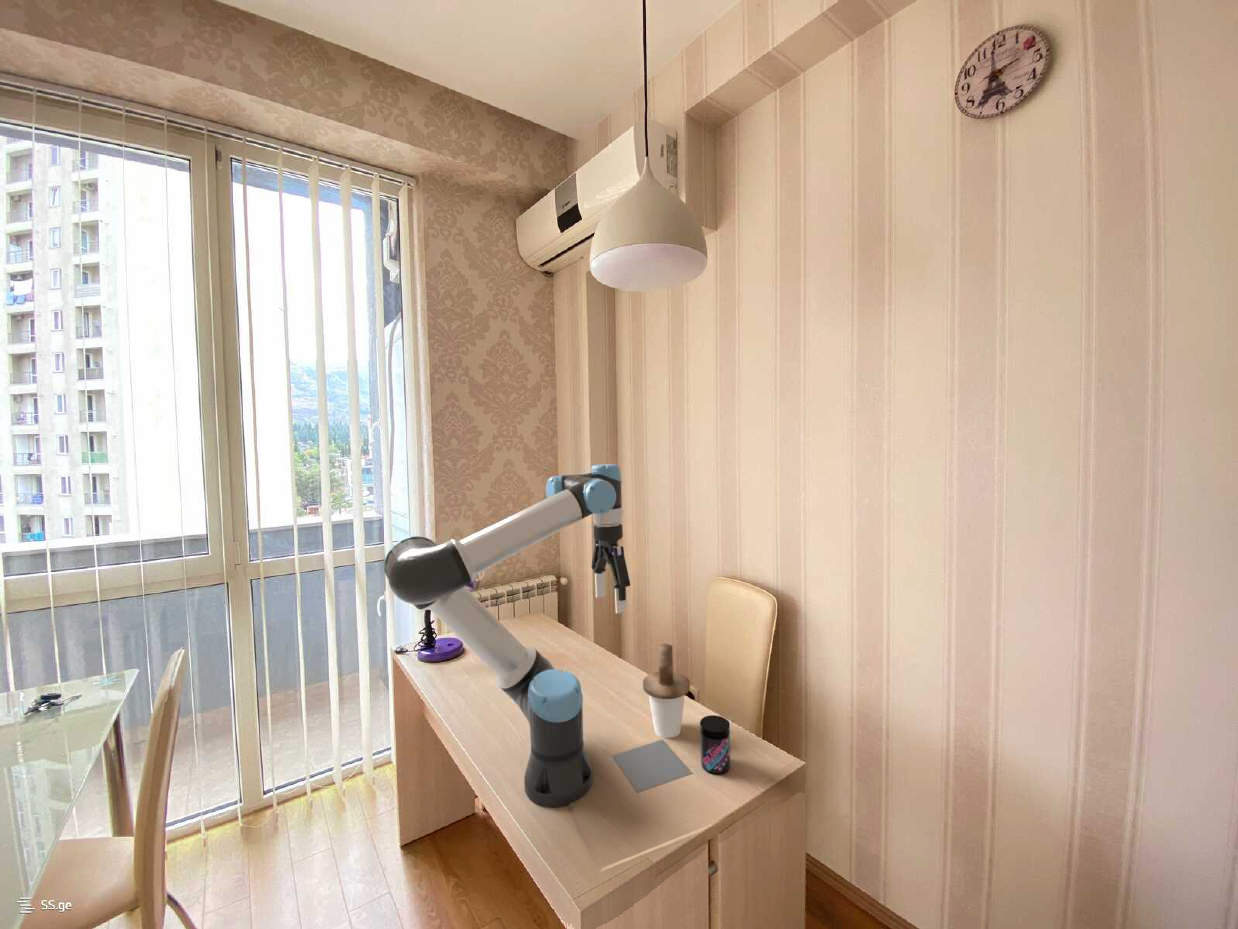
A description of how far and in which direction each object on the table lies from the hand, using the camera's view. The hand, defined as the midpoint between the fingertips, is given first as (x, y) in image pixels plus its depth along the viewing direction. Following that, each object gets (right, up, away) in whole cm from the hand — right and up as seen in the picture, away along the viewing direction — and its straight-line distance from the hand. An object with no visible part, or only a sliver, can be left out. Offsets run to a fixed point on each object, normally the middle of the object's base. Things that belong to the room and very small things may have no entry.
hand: (610, 604), depth 133 cm
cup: (+15, -33, -2) cm, 36 cm away
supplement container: (+24, -33, -16) cm, 44 cm away
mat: (+10, -33, -15) cm, 38 cm away
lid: (+14, -21, -3) cm, 25 cm away
